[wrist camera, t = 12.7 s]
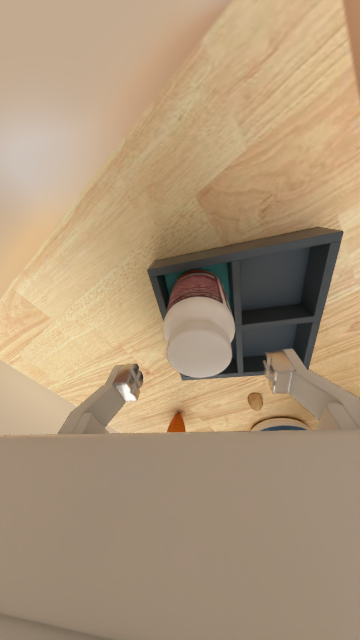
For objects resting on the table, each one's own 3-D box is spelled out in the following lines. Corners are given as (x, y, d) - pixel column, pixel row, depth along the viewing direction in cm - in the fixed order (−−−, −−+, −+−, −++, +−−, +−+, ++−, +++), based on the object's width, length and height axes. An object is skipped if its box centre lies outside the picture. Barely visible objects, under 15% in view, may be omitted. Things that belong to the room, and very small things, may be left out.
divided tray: (154, 260, 21) (146, 269, 18) (318, 226, 17) (343, 230, 14) (183, 362, 30) (182, 380, 27) (295, 353, 26) (307, 372, 23)
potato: (261, 392, 32) (264, 400, 31) (262, 404, 34) (265, 413, 33) (246, 393, 33) (249, 402, 31) (248, 405, 35) (250, 414, 33)
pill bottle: (163, 294, 22) (138, 356, 13) (196, 255, 19) (194, 301, 10) (199, 321, 24) (200, 394, 15) (234, 290, 21) (263, 356, 12)
